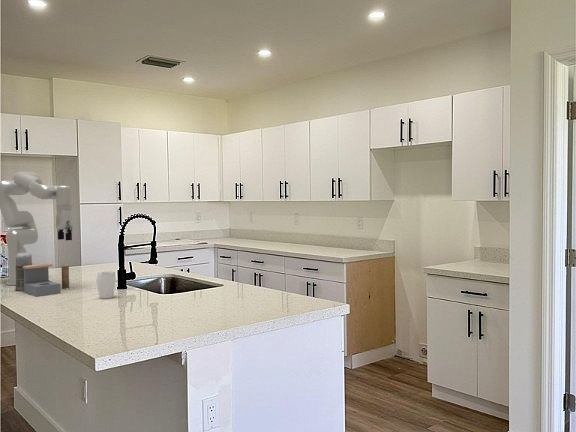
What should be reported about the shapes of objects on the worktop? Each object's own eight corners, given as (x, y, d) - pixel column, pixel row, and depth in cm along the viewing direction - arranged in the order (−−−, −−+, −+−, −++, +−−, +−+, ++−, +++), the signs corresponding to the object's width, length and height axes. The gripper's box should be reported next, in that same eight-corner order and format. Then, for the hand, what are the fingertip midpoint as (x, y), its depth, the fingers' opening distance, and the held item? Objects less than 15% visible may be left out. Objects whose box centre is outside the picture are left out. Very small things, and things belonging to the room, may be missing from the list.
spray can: (36, 288, 280) (35, 252, 279) (27, 291, 272) (26, 253, 271) (21, 288, 281) (20, 251, 280) (12, 291, 273) (11, 253, 272)
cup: (92, 298, 253) (92, 273, 253) (106, 294, 261) (106, 271, 261) (105, 299, 249) (105, 275, 249) (119, 296, 257) (119, 272, 257)
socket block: (23, 292, 268) (22, 266, 267) (48, 289, 277) (48, 263, 277) (35, 296, 257) (34, 268, 256) (61, 293, 266) (60, 266, 266)
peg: (60, 288, 280) (60, 266, 280) (67, 287, 283) (66, 265, 283) (63, 289, 278) (63, 267, 277) (70, 288, 281) (69, 266, 280)
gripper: (50, 208, 282) (51, 239, 283) (63, 208, 270) (64, 241, 271) (64, 208, 287) (64, 238, 288) (77, 208, 276) (78, 240, 276)
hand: (64, 239), depth 279 cm, fingers open, 9 cm apart
